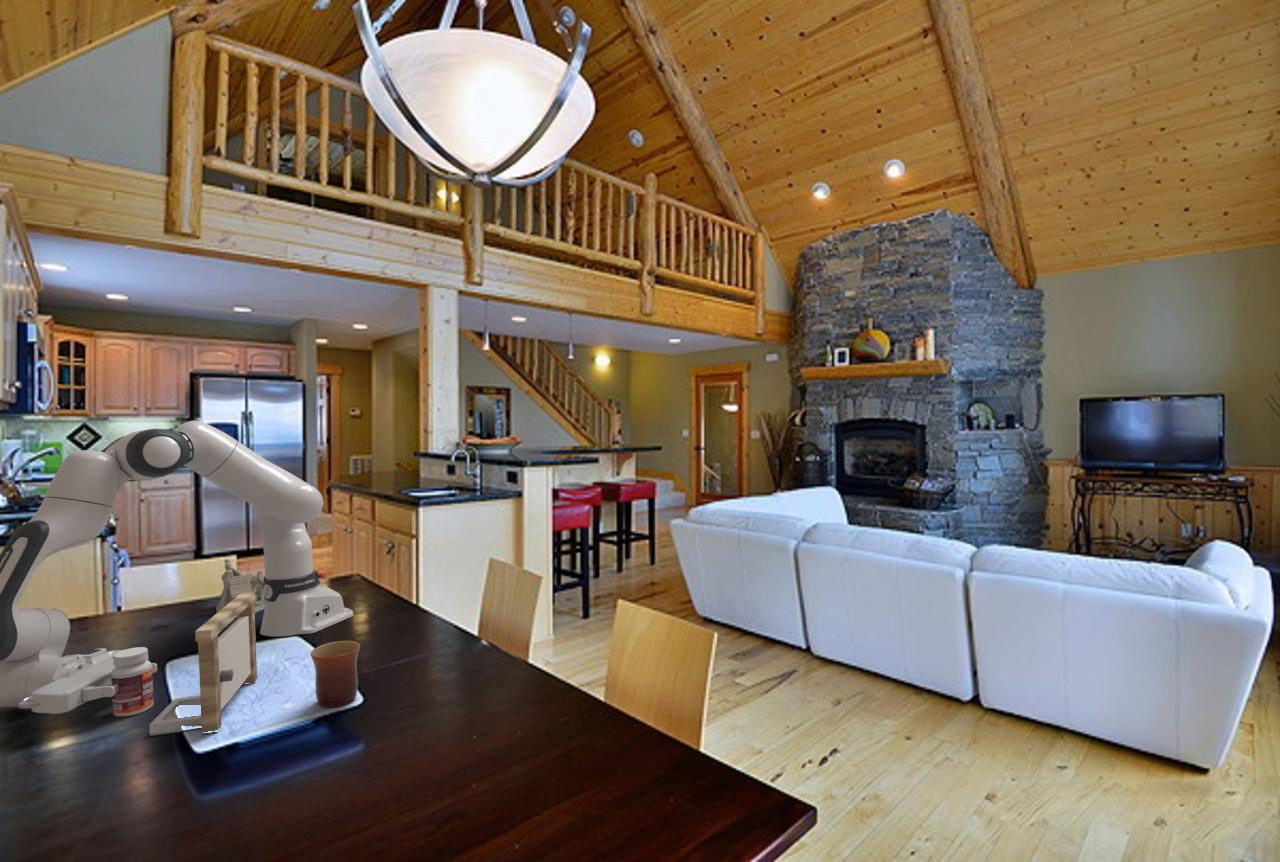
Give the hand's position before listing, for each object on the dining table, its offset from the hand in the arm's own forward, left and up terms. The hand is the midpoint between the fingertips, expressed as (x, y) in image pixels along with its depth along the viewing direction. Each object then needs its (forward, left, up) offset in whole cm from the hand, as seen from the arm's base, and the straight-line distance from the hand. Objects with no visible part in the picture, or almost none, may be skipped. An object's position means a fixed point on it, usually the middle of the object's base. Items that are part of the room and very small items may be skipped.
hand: (136, 679), depth 121 cm
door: (-10, +15, -4) cm, 18 cm away
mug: (-22, +30, -6) cm, 38 cm away
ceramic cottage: (-46, -46, -6) cm, 66 cm away
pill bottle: (0, -1, -6) cm, 6 cm away
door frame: (-10, +14, -6) cm, 18 cm away
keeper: (-3, +14, -6) cm, 15 cm away
